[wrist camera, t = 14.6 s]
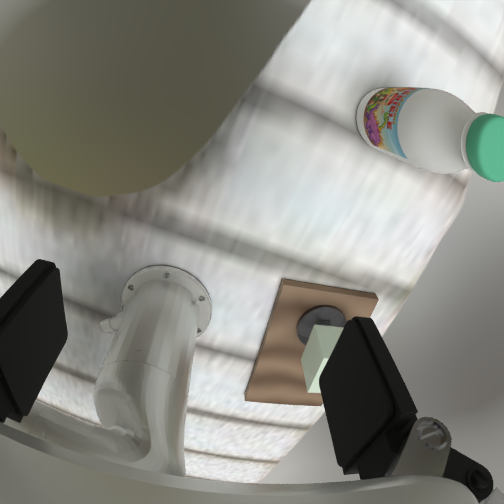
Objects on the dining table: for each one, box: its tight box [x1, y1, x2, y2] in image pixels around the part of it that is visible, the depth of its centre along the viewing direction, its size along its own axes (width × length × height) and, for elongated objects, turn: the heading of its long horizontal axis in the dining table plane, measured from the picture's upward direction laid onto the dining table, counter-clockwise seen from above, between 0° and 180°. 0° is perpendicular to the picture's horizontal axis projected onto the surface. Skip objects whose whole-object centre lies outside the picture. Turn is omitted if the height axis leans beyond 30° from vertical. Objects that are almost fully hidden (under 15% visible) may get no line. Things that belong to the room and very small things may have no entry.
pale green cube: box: [301, 325, 344, 393], centre depth 38 cm, size 6×6×6 cm
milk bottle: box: [357, 87, 504, 182], centre depth 24 cm, size 8×8×20 cm
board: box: [245, 279, 379, 406], centre depth 43 cm, size 24×14×10 cm, turn 167°
